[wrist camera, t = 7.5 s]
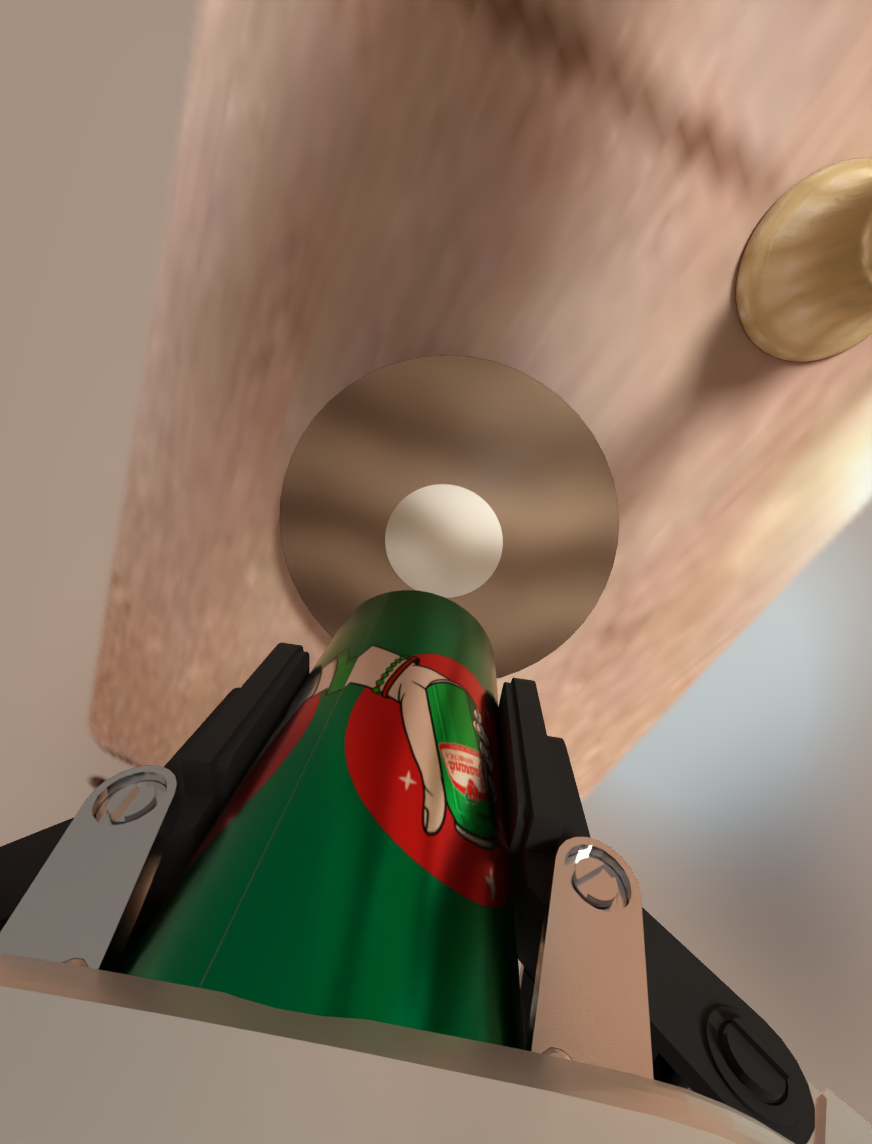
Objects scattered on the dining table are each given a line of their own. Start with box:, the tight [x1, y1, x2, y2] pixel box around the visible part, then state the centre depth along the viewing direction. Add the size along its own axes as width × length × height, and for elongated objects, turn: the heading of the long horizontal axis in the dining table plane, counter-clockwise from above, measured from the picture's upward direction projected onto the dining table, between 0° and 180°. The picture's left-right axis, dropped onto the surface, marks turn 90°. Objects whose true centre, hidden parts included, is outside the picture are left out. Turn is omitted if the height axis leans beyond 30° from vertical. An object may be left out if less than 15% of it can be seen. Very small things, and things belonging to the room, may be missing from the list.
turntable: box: [280, 355, 619, 678], centre depth 25 cm, size 20×20×2 cm
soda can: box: [119, 590, 525, 1050], centre depth 8 cm, size 5×5×12 cm
